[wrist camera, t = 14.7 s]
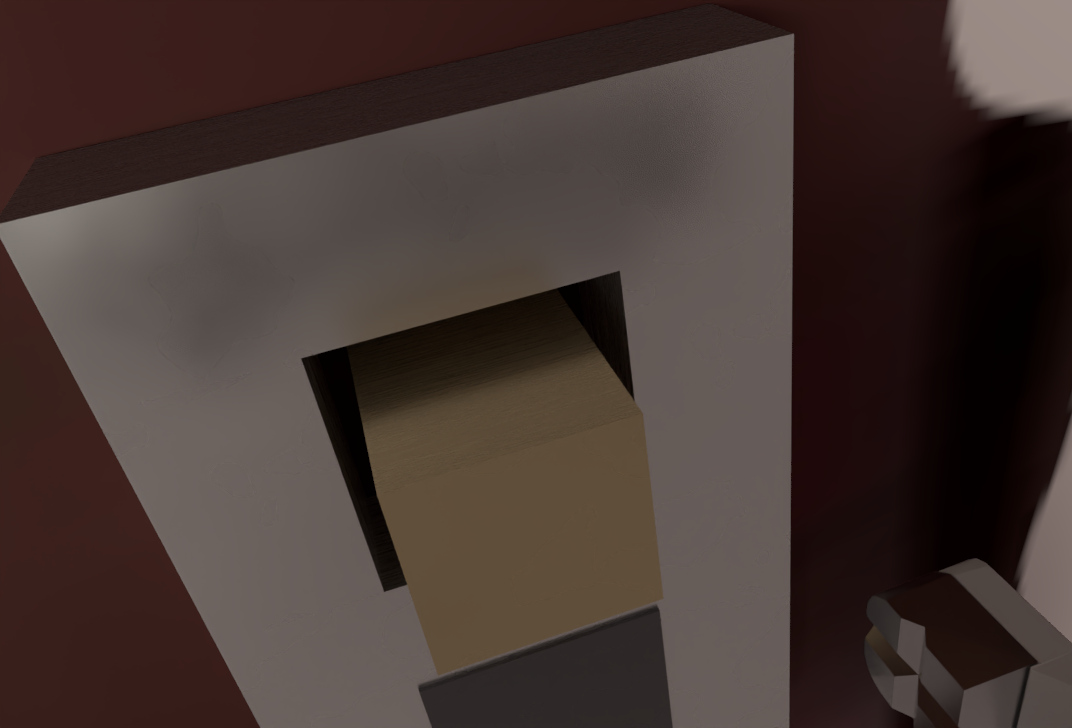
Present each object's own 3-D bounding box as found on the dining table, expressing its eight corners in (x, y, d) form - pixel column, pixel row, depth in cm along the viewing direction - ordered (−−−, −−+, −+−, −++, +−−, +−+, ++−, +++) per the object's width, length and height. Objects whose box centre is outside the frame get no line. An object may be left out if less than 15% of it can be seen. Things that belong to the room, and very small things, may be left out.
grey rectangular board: (355, 822, 25) (368, 933, 23) (36, 158, 15) (-9, 228, 12) (739, 685, 27) (790, 774, 25) (710, 3, 16) (797, 35, 14)
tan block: (388, 462, 20) (438, 675, 15) (337, 306, 17) (376, 494, 12) (559, 410, 20) (663, 598, 15) (532, 253, 18) (642, 413, 13)
